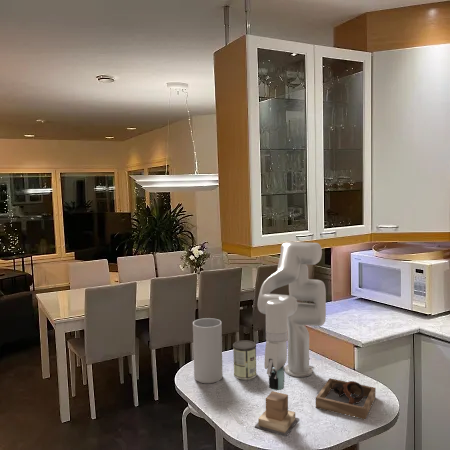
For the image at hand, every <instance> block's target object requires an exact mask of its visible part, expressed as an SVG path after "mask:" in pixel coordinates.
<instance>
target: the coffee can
mask: <svg viewBox="0 0 450 450" xmlns="http://www.w3.org/2000/svg"><path fill="white" fill-rule="evenodd" d="M232 348H233V350H232V351H233V352H232V353H233V376H234V377H235V378H236V379H238V380H243V381H244V380H247V381H248V380H252V379H254V378H256V376H257V343H256V342H255V341H253V340H243V339H242V340H237V341H234V342H233V344H232Z"/></svg>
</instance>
